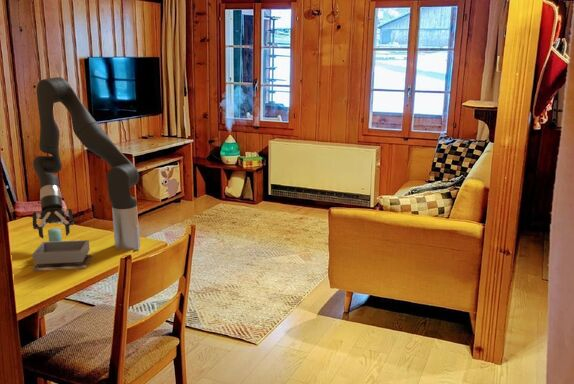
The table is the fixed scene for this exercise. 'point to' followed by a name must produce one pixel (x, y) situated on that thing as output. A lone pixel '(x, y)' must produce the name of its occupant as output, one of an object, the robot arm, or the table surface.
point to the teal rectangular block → (54, 235)
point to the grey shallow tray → (61, 252)
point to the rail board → (64, 265)
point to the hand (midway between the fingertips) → (54, 236)
